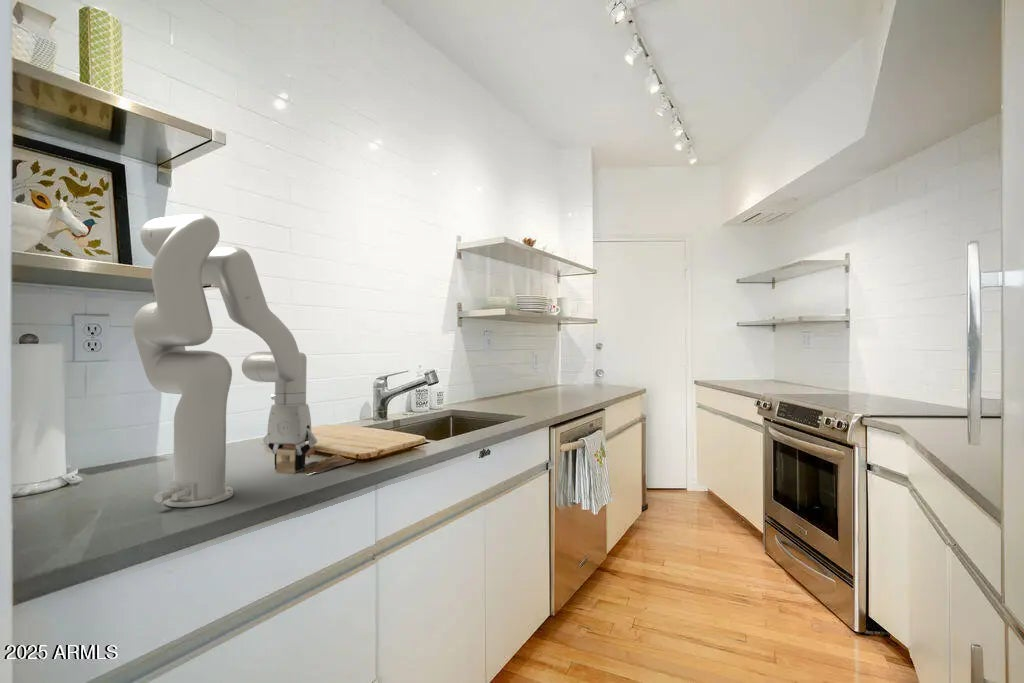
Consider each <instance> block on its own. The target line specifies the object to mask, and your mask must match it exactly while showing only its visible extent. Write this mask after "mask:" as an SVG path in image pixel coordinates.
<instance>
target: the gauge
mask: <svg viewBox="0 0 1024 683" xmlns="http://www.w3.org/2000/svg"><path fill="white" fill-rule="evenodd" d="M315 450H316V446H315V445H313V446H312V447H311V448H310V449H309V450H308V452H307V453H305V458H306V457H307V459H308V458H310V457H311V456H312V455H314V454H315V453H316V451H315ZM296 455H298V453H297V449H296V447H290V446H285V447H282V448H279V449H277V458H276V470H275V472H276V474H292V473H294V474H297V473H299V472H301V471H304V468H303V469H301V470H299V471H296V470H295V466H296ZM296 472H297V473H296Z"/></svg>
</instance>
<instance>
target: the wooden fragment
mask: <svg viewBox="0 0 1024 683" xmlns="http://www.w3.org/2000/svg"><path fill="white" fill-rule="evenodd" d="M356 461H357V459H356V460H351V459H346V458H344V457H342V456H340V455H338V454H334V455H333V454H332V456H329V457H327V458H324V459H322V460H319V461H314V462H310V464H309V465H306V466H304V468H303V471H304V470H305V471H304V472H305V474H309V473H313V472H317V474H320V473H323V472H326V471H329V470H332V469H334V468H338V467H341V466H345V465H349V464H352V463H354V464H355V463H356Z"/></svg>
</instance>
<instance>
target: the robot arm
mask: <svg viewBox="0 0 1024 683" xmlns="http://www.w3.org/2000/svg"><path fill="white" fill-rule="evenodd" d="M219 240H220V228H219V226H218V224H217V222H216V220H214V219H213V218H212V217H210V216H208V215H205V214H202V213H201V214H200V213H189V214H187V213H186V214H178V215H171V216H170V215H169V216H164V217H163V216H162V217H156V218H152V219H151V220H148V221H147V222H145V223H144V224H143V225H142V227H141V229H140V241H141V244H142V246H143V248H144V249H145V250H146V251H147V253H149V254H150V255H151V256H153V257H154V260H153V264H152V269H151V282H152V283H151V284H152V287H153V293H154V296H155V301H154V302H150V303H147V304H145V305H143V306H142V307H141V308H140V309H139V310H138V311H137V312H136V313H135V316H134V319H133V322H132V323H133V324H132V330H133V337H134V339H135V343H136V347H137V350H138V354H139V355H140V360H141V363H142V365H143V366H142V367H143V369H144V373H145V375H146V378H147V380H148V382H149V383H150V385H151V386H152V387H153V388H154V389H155V390H157V391H159V392H161V393H164V394H170V395H171V394H172V395H173V394H174V395H181V396H180V399H179V400H178V402H177V406H176V408H175V411H174V416H173V462H172V463H173V468H172V470H173V472H172V473H173V476H172V478H173V479H172V480H173V481H171V482H169V487H168V488H167V489H166V490H162V491H158V492H156V493H155V494H154V496H153V499H154V501H155V502H156V503H158V504H159V503H161V502H163V504H164V505H165V506H168V507H171V508H172V507H173V508H194V507H202V506H209V505H212V504H216V503H217V504H218V503H220V502H222V501H226V500H227V499H230V498H231V497H232V496H233V495H234V489H233V487H231V486H228V485H226V476H227V475H226V469H227V468H226V464H227V463H226V459H227V452H226V451H227V405H228V399H229V398H228V396H229V392H230V389H231V388H230V387H231V384H232V380H233V379H232V378H233V369H232V365H231V363H230V361H229V360H228V359H227V358H226V357H225V356H224V355H222V354H220V353H218V352H215V351H210V350H194V349H193V350H192V349H191V350H186V347H194V346H200V345H202V344H205V343H206V342H208V341H209V340H210V339H211V338H212V337H211V336H212V335H213V330H214V329H213V320H212V318H211V314H210V309H209V306H208V302H207V298H206V297H207V296H206V294H205V291H204V286H203V284H204V285H217V286H218V289H219V291H220V292H219V293H220V294H221V297H222V300H223V303H224V306H225V309H226V311H227V314H228V317H229V318H230V319H231V321H233V322H234V323H236V324H237V325H239V326H241V327H243V328H245V329H246V330H249V331H251V332H253V333H254V334H256V335H257V336H258V337H259V338H260V339H262V340H263V341H264V342H265V344H266V345H267V346H268V348H269V349H270V351H255V352H252V353H249V354H248V355H247V356H245V358H244V359H243V361H242V363H241V371H242V373H243V375H244V376H245V377H246V378H247V379H248V380H250V381H254V382H261V383H263V382H264V383H274V394H271V395H270V399H271V400H272V401H273V400H274V404H271V407H270V411H269V414H268V421H267V422H268V423H267V431H266V432H267V433H266V435H265V436H264V437H263V440H262V441H263V443H265V444H266V445H267V446H268V448H269V449H270V450H271V452H272V454H273V455H274V469H275V471H276V458H277V449H279V448H282V447H284V444H295V445H296V449H297V453H298V455H296V466H295V470H296V471H299V470H301V469H303V470H304V467H306V466H305V465H306V457H305V453H307V452H308V450H309V449H310V448H311V447H312V446H315V445H316V444H318V439H317V437H315V435H314V433H313V432H312V419H311V418H312V417H311V412H310V407H309V404H308V403H307V365H308V364H307V363H308V362H307V356H306V354H305V353H303V352H300V350H299V348H298V344H297V342H296V339H295V336H294V335H293V333H292V332H291V331H290V329H289V328H288V327H287V326H286V325H285V324H284V322H282V320H281V319H280V318H279V317H278V316H277V315H276V314H275V313H273V311H272V310H271V309H270V308H269V306H268V303H267V300H266V297H265V294H264V291H263V289H262V285H261V282H260V280H259V279H260V278H259V276H258V273H257V270H256V268H255V264H254V262H253V259H252V257H251V255H250V253H249V252H248V251H247V250H246V249H244V248H242V247H238V246H231V245H230V246H229V245H228V246H226V245H225V246H218V244H219ZM301 471H302V470H301ZM299 472H300V471H299Z"/></svg>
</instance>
